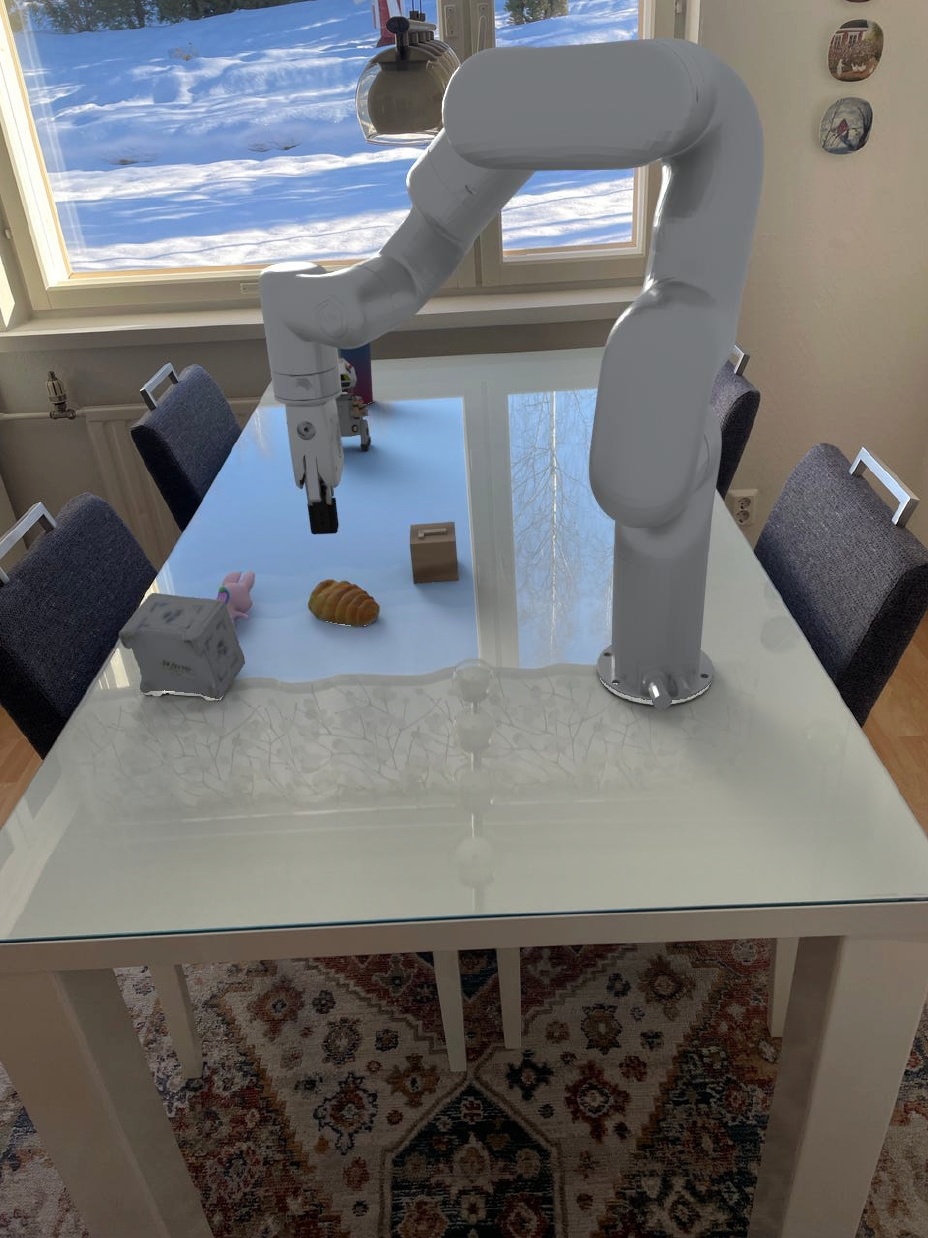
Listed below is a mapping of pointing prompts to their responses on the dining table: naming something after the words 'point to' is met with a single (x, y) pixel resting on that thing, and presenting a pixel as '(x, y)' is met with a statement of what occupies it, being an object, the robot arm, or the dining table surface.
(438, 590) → the dining table surface
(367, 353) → the cup
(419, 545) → the lettered block
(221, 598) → the rabbit figure
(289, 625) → the dining table surface
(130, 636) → the incense holder
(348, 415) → the figurine
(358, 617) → the pastry
